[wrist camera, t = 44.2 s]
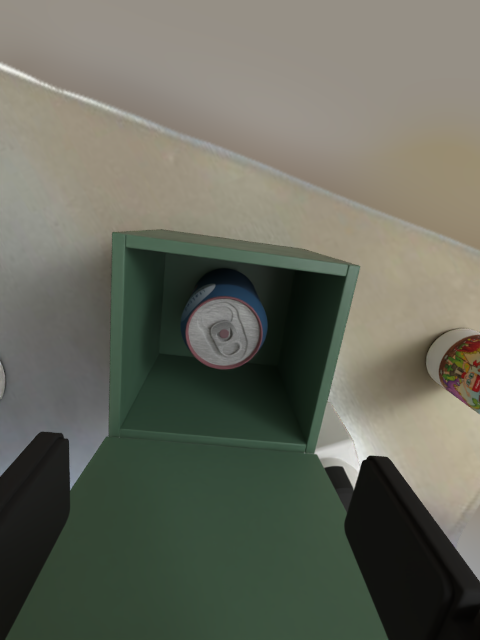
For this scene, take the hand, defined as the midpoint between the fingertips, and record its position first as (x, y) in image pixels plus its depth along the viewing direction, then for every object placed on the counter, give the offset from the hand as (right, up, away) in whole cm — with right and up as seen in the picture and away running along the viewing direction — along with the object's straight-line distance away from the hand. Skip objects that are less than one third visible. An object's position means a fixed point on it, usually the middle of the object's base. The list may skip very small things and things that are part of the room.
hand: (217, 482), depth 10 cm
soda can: (-1, +8, +25) cm, 26 cm away
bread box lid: (-1, -5, +5) cm, 8 cm away
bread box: (-1, +7, +26) cm, 27 cm away
